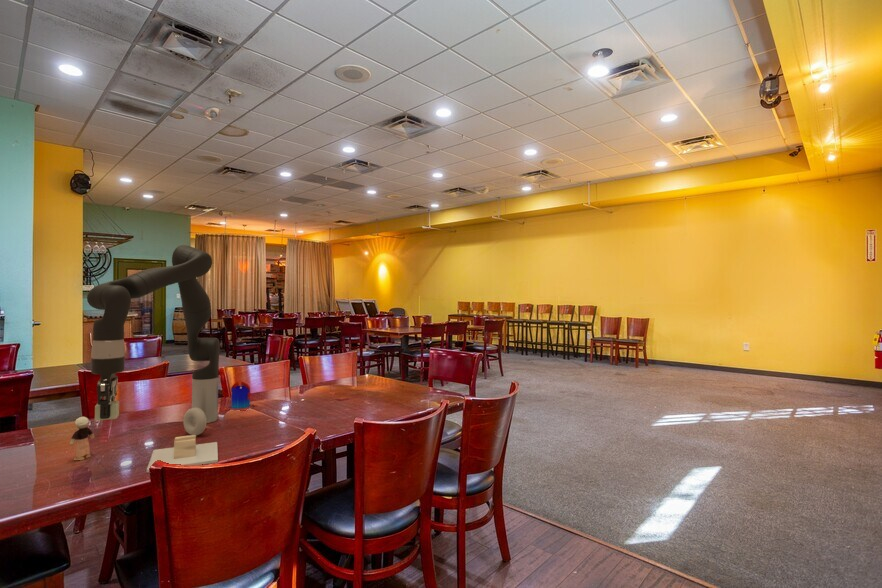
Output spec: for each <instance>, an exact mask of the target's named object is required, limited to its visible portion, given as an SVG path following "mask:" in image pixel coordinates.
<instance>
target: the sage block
mask: <svg viewBox="0 0 882 588" xmlns="http://www.w3.org/2000/svg"><path fill="white" fill-rule="evenodd" d="M119 415H120V401H119V400H114V401H111V409H110V417H109V418H107V419H101V418H100V406H99V405H98V403H96V405H95V406H94V421H98V422H99V421H106V420H116V419H118V417H119Z"/></svg>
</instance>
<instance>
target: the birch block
mask: <svg viewBox="0 0 882 588" xmlns="http://www.w3.org/2000/svg"><path fill="white" fill-rule="evenodd" d="M196 440H197V436H196V435H190V434H189V435H183V436H176V437H174V442H173V447H174V459H178V458H185V457H193V456H195V451H196V445H197V442H196Z"/></svg>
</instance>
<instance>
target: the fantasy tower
mask: <svg viewBox="0 0 882 588" xmlns="http://www.w3.org/2000/svg"><path fill="white" fill-rule="evenodd" d="M230 388H231V389H230V392H231V400H230V402H231V404H230V407H229V408H228V407H224V408H222V411H223V412H226V411H225V410H229V409H230V410H240V411H246V410H247V409H248V410H250V409H249V408H251V409H253V408H258V407H257V406H258V405H257V404H255V403H254V404H253V403H252V405H250V404H251V386H250V385H249V383H247V382H246V381H241V382H240V385H239V382H238V381H237V382H235V383H233V385H231V387H230ZM252 406H253V407H252ZM230 410H229V411H230ZM248 410H247V411H248ZM247 411H246V412H247Z"/></svg>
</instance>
